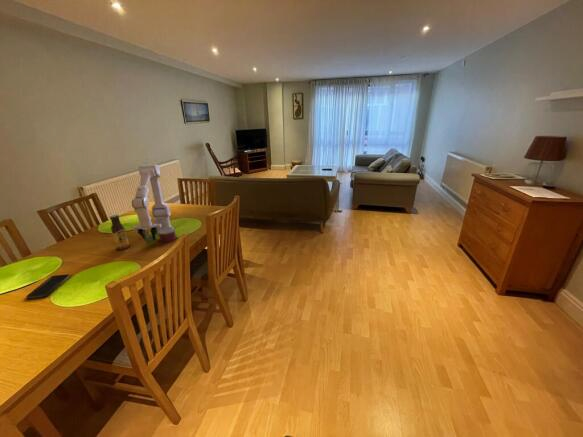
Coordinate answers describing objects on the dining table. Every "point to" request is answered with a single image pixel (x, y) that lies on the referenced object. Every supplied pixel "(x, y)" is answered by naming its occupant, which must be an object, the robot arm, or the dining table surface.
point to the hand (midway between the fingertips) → (150, 239)
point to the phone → (47, 287)
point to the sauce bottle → (119, 233)
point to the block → (149, 239)
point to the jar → (167, 234)
